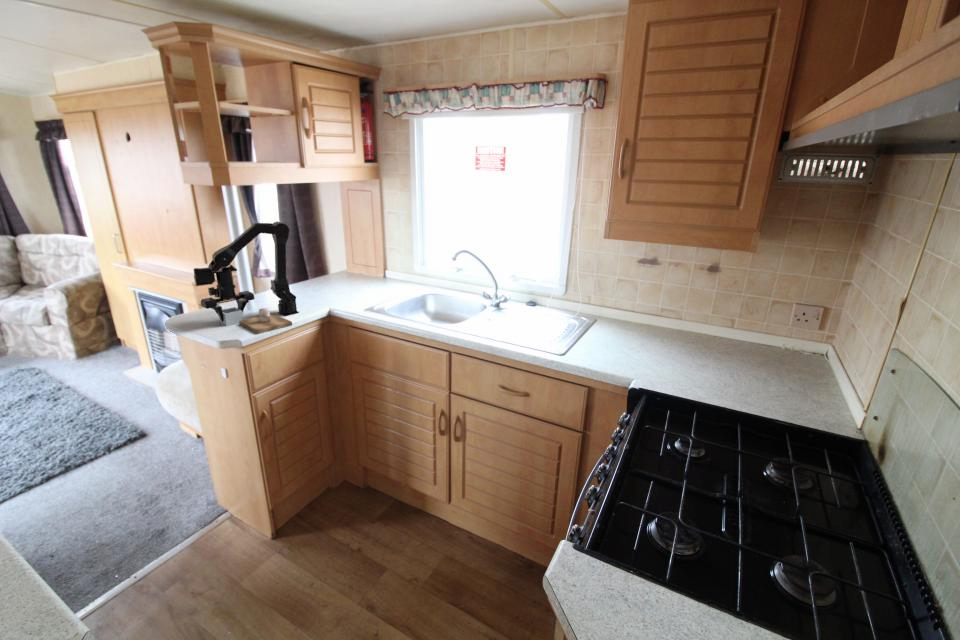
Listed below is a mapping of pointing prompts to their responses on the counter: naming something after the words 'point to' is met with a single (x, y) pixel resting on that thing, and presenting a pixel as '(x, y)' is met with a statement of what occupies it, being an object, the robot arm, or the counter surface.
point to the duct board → (265, 322)
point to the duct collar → (232, 316)
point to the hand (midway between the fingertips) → (231, 319)
